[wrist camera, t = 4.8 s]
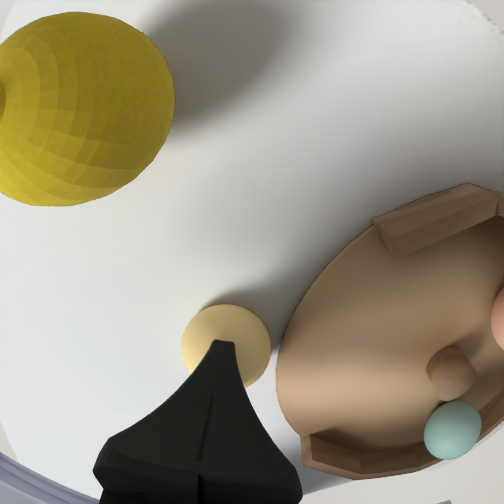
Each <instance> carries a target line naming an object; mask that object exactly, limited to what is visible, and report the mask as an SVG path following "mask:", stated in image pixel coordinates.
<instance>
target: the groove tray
mask: <svg viewBox="0 0 504 504" xmlns="http://www.w3.org/2000/svg"><path fill="white" fill-rule="evenodd" d="M372 222H373V224H372V225H371V226H370V227H369V228H367V229H366V230H365V231H364V232H362V233H361V234H360V235H359V236H357V237H356V238H355V239H354V240H352V241H351V242H350V243H349V244H348V245H347V246H346V247H345V248H344V249H343V250H342V251H341V252H340V253H339V254H338V255H337V256H336V257H335V258H334V259H333V260H332V261H331V262H329V263H328V265H327V266H326V267H325V268H324V270H323V271H322V272H321V273H320V275H319V276H318V277H317V278H316V279H315V281H314V282H313V283H312V284H311V286H310V287H309V289H308V290H307V292H306V293H305V295H304V296H303V298H302V299H301V301H300V303H299V304H298V306H297V307H296V309H295V311H294V313H293V315H292V317H291V319H290V321H289V323H288V325H287V327H286V330H285V332H284V335H283V339H282V342H281V345H280V348H279V351H278V358H277V365H276V392H277V396H278V401H279V405H280V408H281V410H282V412H283V414H284V417H285V419H286V420H287V422H288V423H289V424H290V426H291V427H292V428H293V430H294V431H296V432H297V433H298V434H299V435H300V440H301V452H302V465H303V466H306V467H309V468H312V469H316V470H319V471H322V472H326V473H329V474H333V475H337V476H341V477H344V478H348V479H352V480H363V479H373V478H381V477H388V476H394V475H401V474H407V473H413V472H416V471H420V470H422V469H424V468H427V467H429V466H431V465H434V464H436V463H438V462H440V461H442V460H445V459H440V458H437V457H435V456H434V455H432V454H431V453H430V452H429V451H428V449H427V447H426V445H425V442H424V430H425V426H426V423H427V421H428V419H429V418H430V416H431V415H432V413H433V412H434V411H435V410H436V409H438V408H439V407H440V406H442V405H443V404H446V403H448V402H451V401H465V402H468V403H470V404H471V405H473V406H474V407H475V408H476V409H477V411H478V412H479V415H480V418H481V431H480V435H479V437H478V440H477V441H476V443H477V442H478V441H480V440H481V439H482V438H483V437H485V436H486V435H487V434H488V433H490V432H491V431H492V430H493V429H494V428H495V427H497V426H498V425H499V424H500V423H501V422H502V421H503V420H504V350H503V349H502V348H501V347H500V346H499V345H498V344H497V342H496V340H495V338H494V336H493V333H492V329H491V311H492V307H493V304H494V301H495V299H496V297H497V295H498V294H499V292H500V291H501V290H502V288H503V287H504V194H503V193H499V192H496V191H492V190H488V189H484V188H481V187H478V186H476V185H473V184H470V183H464V184H461V185H458V186H456V187H453V188H451V189H448V190H444V191H441V192H438V193H434V194H431V195H428V196H424V197H421V198H419V199H417V200H415V201H413V202H411V203H408V204H406V205H404V206H402V207H400V208H398V209H396V210H393V211H391V212H388V213H386V214H383V215H380V216H378V217H375V218H372ZM476 443H475V444H476Z"/></svg>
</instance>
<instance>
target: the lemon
mask: <svg viewBox="0 0 504 504" xmlns="http://www.w3.org/2000/svg"><path fill="white" fill-rule="evenodd" d="M174 108H175V93H174V84H173V77H172V75H171V72H170V70H169V68H168V65H167V63H166V60H165V58H164V56H163V55H162V53H161V52H160V51H159V50H158V49H157V47H156V46H155V45H154V44H153V43H152V41H151V40H150V39H149V38H148V37H147V36H146V35H145V34H144V33H142V32H140V31H139V30H137V29H135V28H134V27H132V26H130V25H129V24H127V23H125V22H123V21H121V20H119V19H116V18H114V17H109V16H105V15H99V14H93V13H86V12H66V13H61V14H56V15H51V16H47V17H42V18H40V19H38V20H35V21H33V22H31V23H29V24H28V25H26V26H24V27H22V28H20V29H19V30H17V31H16V32H15V33H13V34H12V35H11V36H10V37H8V38H7V39H6V40H5V41H4V42H3V43H2V44H1V45H0V192H1V193H2V194H4V195H6V196H7V197H9V198H12V199H14V200H17V201H19V202H22V203H25V204H29V205H33V206H73V205H78V204H82V203H85V202H89V201H92V200H95V199H99V198H102V197H105V196H107V195H109V194H111V193H113V192H115V191H116V190H118V189H120V188H121V187H123V186H124V185H126V184H128V183H130V182H131V181H132V180H134V179H135V178H136V177H137V176H138V175H139V174H140V173H141V172H142V171H143V170H144V169H145V168H146V167H147V166H148V165H149V164H150V163H151V162H152V161H153V160H154V158H155V157H156V155H157V153H158V152H159V150H160V149H161V147H162V146H163V144H164V142H165V141H166V138H167V135H168V133H169V130H170V127H171V124H172V122H173V116H174Z"/></svg>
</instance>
